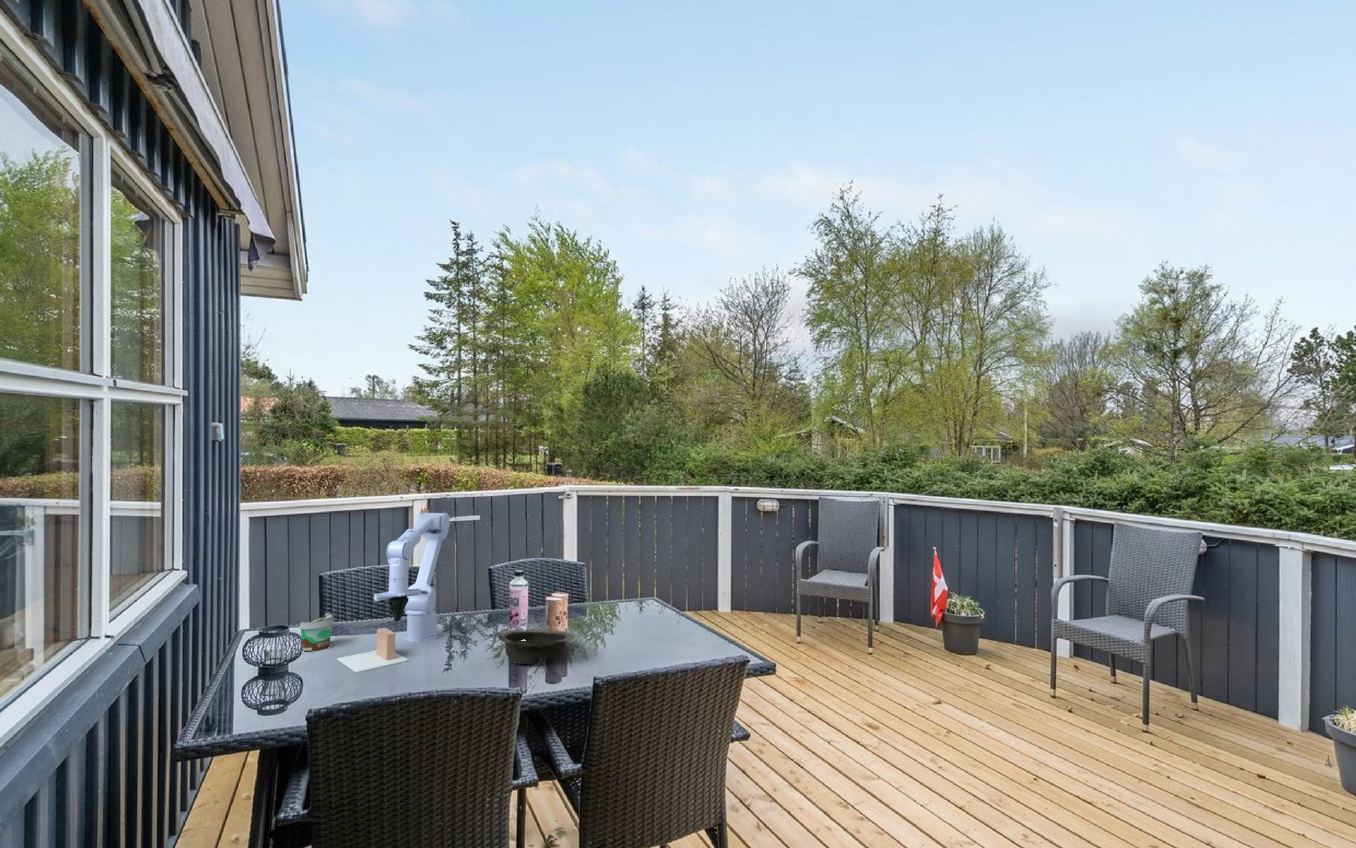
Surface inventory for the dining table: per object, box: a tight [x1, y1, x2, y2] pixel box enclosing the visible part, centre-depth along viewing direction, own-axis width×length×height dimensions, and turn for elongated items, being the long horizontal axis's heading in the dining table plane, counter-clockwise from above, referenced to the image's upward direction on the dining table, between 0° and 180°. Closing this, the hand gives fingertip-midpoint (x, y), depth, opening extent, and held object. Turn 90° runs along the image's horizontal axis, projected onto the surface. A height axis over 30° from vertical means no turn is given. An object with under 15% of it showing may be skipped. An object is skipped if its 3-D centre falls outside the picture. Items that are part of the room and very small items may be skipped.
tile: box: [376, 627, 396, 660], centre depth 218 cm, size 3×8×8 cm, turn 45°
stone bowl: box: [496, 628, 576, 665], centre depth 222 cm, size 25×25×9 cm
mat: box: [334, 648, 411, 674], centre depth 215 cm, size 16×18×1 cm
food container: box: [299, 612, 335, 653], centre depth 225 cm, size 12×6×10 cm, turn 168°
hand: (397, 620), depth 223 cm, fingers closed
